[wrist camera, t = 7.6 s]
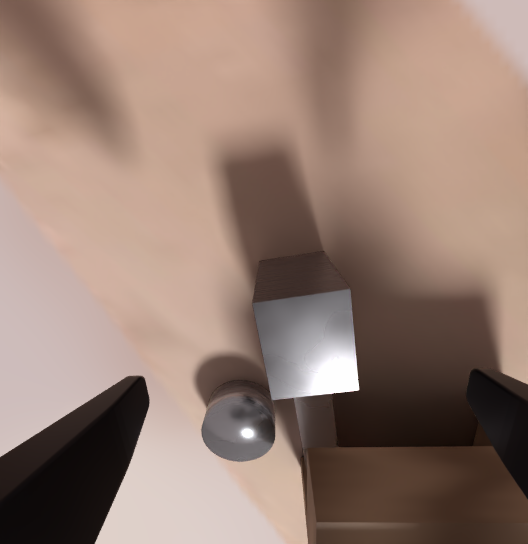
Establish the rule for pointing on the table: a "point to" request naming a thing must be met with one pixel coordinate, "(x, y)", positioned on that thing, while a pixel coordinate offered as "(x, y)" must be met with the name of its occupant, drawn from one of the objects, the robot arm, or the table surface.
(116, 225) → the table surface
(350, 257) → the table surface
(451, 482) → the plinth cabinet
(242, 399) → the steel token
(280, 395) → the grey mallet
